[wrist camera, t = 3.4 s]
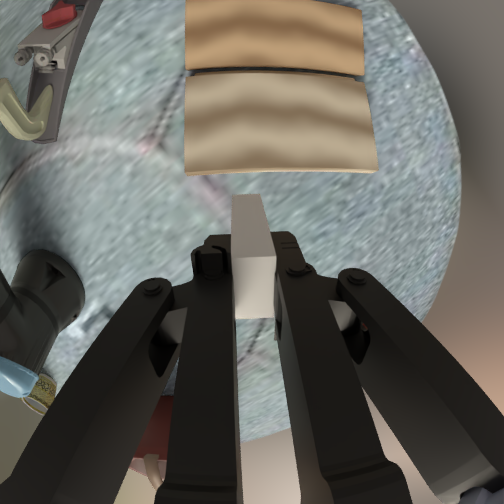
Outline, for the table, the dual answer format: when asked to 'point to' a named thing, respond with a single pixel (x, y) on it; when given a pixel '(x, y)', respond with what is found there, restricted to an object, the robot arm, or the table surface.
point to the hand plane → (47, 70)
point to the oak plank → (273, 35)
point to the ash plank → (277, 123)
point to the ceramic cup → (41, 394)
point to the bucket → (155, 444)
